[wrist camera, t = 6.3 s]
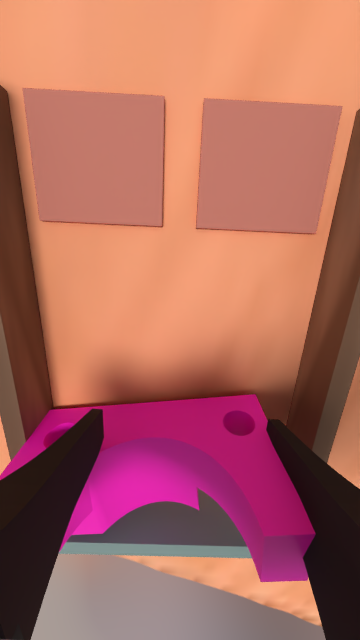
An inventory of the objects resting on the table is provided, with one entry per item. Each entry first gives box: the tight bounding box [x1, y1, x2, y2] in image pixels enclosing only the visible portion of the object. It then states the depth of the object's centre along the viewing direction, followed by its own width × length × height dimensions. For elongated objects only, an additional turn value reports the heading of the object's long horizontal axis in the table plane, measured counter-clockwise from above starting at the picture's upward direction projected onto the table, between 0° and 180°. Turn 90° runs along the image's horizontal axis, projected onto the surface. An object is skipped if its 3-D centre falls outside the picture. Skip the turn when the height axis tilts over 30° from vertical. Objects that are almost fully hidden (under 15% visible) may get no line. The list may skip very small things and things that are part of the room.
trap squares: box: [23, 88, 342, 234], centre depth 12 cm, size 16×6×1 cm, turn 88°
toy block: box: [0, 394, 316, 582], centre depth 13 cm, size 15×6×8 cm, turn 96°
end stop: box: [58, 488, 252, 558], centre depth 17 cm, size 20×1×4 cm, turn 87°
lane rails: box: [0, 85, 360, 463], centre depth 13 cm, size 20×26×3 cm
